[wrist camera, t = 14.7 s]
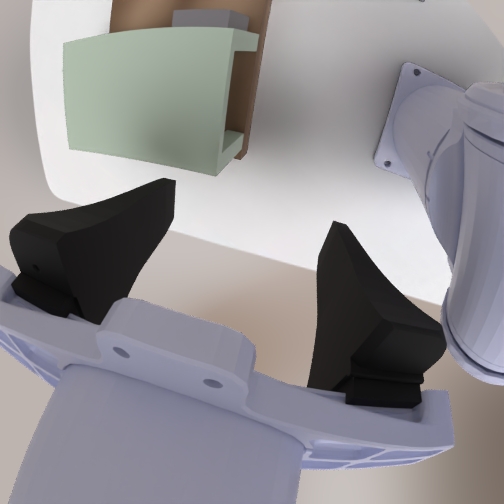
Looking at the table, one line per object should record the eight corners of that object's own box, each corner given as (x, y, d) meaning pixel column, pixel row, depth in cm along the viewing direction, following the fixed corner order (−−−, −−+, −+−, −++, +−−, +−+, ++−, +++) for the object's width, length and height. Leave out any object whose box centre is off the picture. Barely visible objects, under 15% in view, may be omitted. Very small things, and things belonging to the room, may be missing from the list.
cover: (261, 20, 13) (236, 10, 9) (241, 149, 19) (216, 176, 15) (109, 25, 14) (64, 30, 11) (108, 128, 20) (69, 149, 17)
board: (288, -85, 7) (284, -93, 6) (246, 152, 21) (240, 159, 20) (138, -69, 9) (127, -72, 8) (119, 131, 22) (109, 136, 21)
